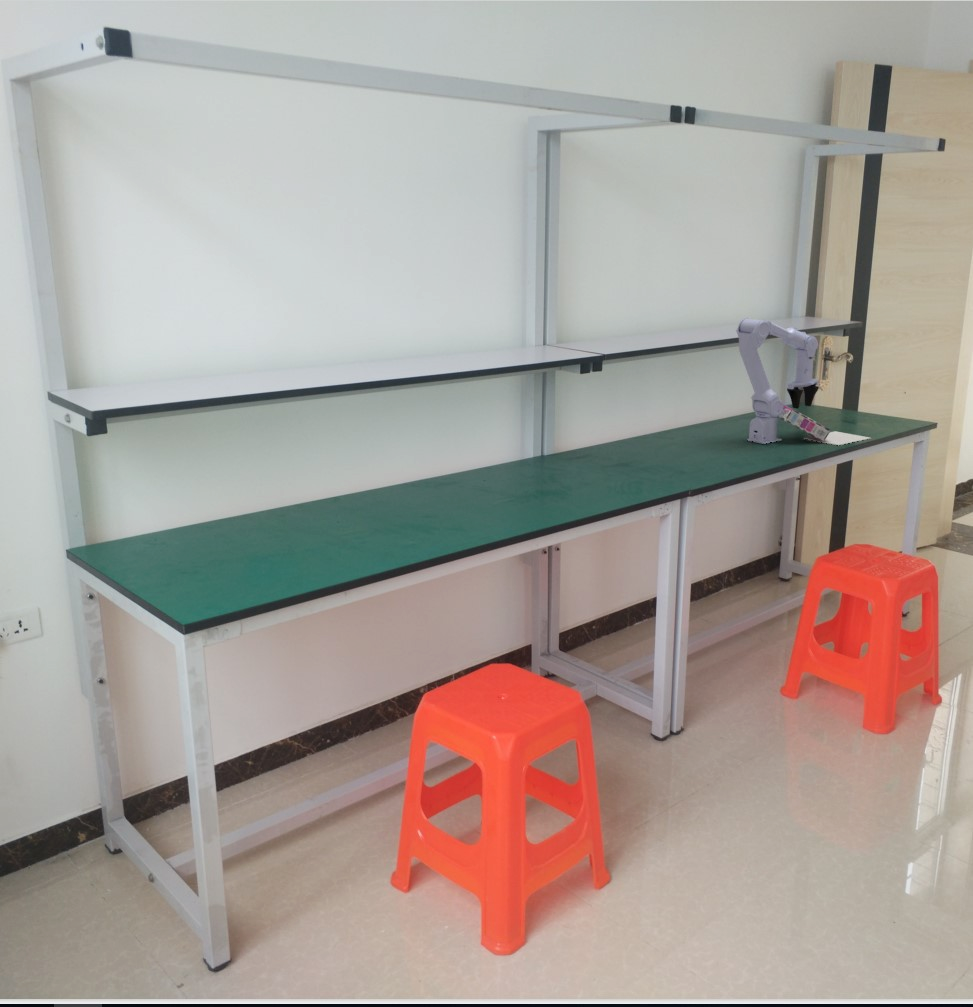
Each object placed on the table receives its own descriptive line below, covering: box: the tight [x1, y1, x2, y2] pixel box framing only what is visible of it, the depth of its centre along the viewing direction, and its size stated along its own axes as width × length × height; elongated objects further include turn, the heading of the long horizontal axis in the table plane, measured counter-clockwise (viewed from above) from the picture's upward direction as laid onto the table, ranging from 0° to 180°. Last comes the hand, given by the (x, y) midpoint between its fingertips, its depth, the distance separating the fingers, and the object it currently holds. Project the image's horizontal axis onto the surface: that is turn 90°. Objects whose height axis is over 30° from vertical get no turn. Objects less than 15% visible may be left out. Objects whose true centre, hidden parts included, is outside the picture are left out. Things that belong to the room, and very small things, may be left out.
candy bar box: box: [778, 404, 832, 442], centre depth 340 cm, size 11×5×16 cm
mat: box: [803, 430, 872, 447], centre depth 343 cm, size 18×15×1 cm
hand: (801, 407), depth 347 cm, fingers open, 6 cm apart
